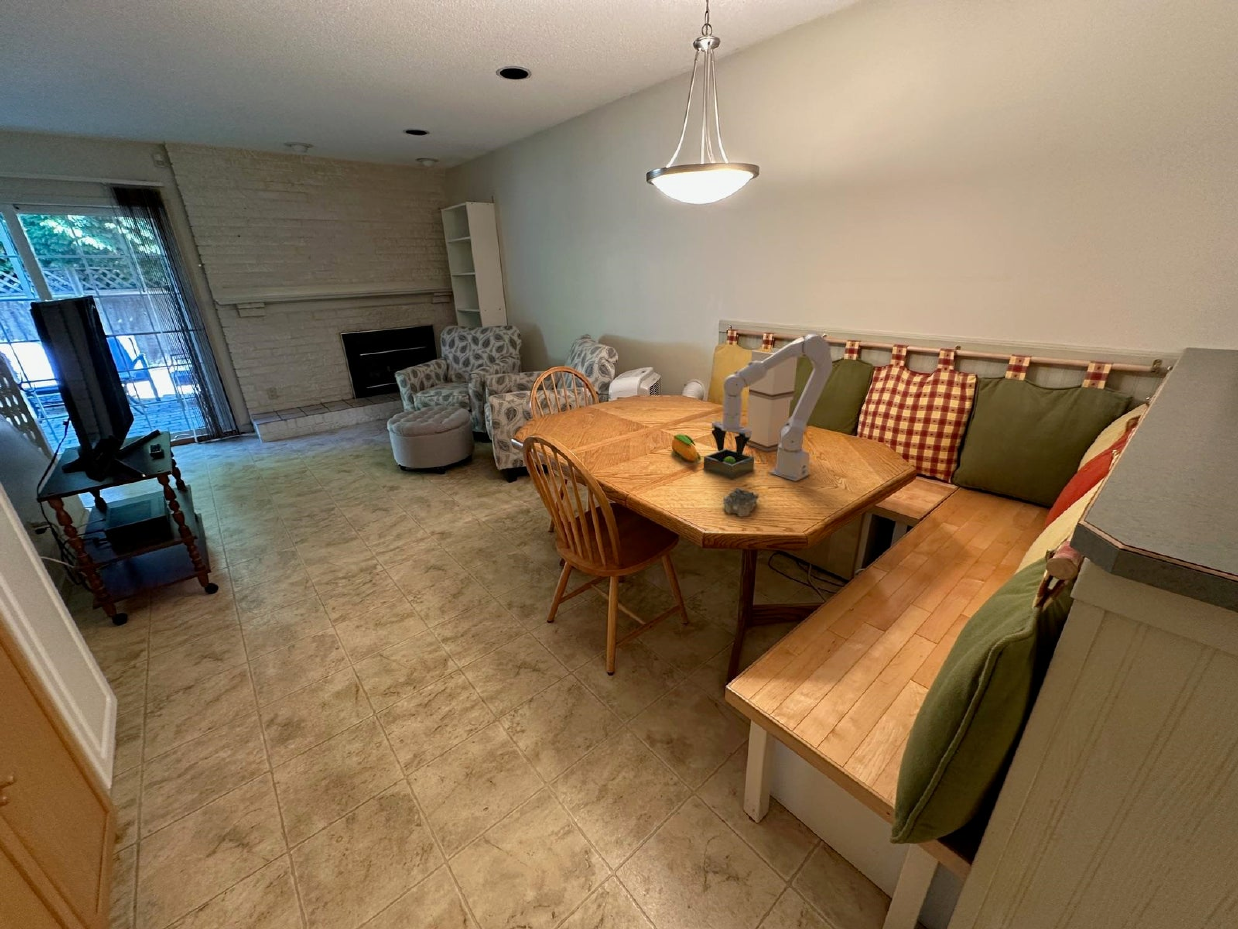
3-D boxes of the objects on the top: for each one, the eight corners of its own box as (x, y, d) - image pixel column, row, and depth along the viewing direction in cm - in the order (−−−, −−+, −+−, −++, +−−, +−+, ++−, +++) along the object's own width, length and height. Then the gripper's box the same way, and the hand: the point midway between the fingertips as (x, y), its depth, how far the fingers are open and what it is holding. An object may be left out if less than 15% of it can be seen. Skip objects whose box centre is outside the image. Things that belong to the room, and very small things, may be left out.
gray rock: (745, 519, 127) (746, 505, 125) (719, 511, 131) (720, 498, 130) (760, 504, 135) (762, 490, 133) (735, 497, 139) (736, 484, 137)
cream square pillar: (787, 446, 179) (798, 351, 166) (766, 451, 174) (775, 354, 161) (765, 438, 188) (773, 348, 175) (744, 443, 183) (751, 350, 171)
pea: (737, 469, 159) (739, 458, 157) (729, 471, 156) (731, 460, 155) (727, 464, 161) (729, 453, 160) (719, 466, 159) (722, 455, 157)
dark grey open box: (753, 469, 158) (754, 457, 157) (731, 479, 152) (732, 465, 150) (725, 460, 167) (726, 448, 165) (703, 469, 160) (704, 456, 158)
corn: (685, 428, 177) (707, 445, 159) (686, 447, 180) (708, 466, 162) (667, 431, 176) (686, 448, 158) (668, 450, 179) (687, 470, 161)
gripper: (706, 411, 155) (704, 450, 160) (742, 419, 144) (740, 461, 149) (720, 407, 159) (718, 445, 164) (756, 415, 148) (753, 456, 153)
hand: (729, 453), depth 157 cm, fingers open, 7 cm apart
